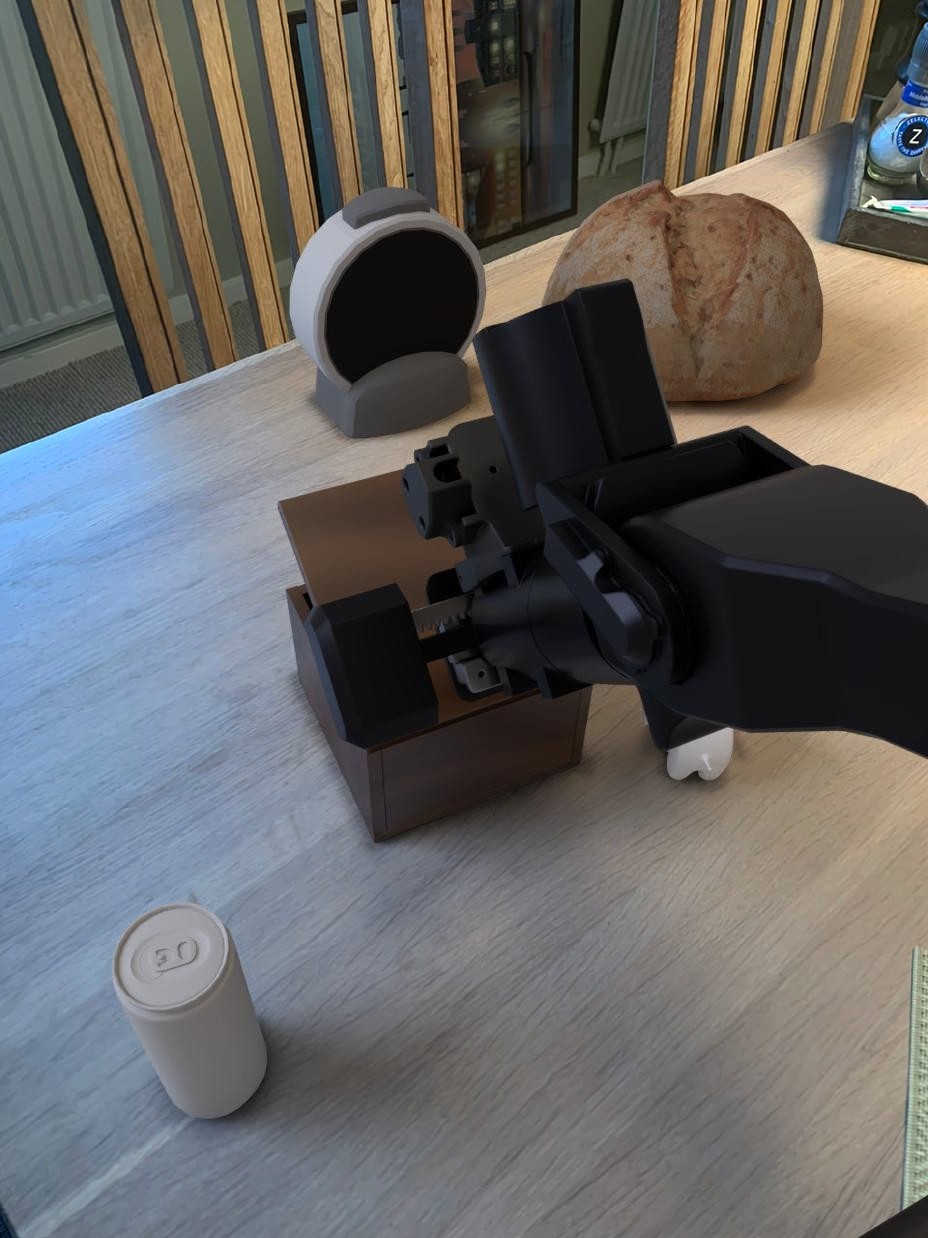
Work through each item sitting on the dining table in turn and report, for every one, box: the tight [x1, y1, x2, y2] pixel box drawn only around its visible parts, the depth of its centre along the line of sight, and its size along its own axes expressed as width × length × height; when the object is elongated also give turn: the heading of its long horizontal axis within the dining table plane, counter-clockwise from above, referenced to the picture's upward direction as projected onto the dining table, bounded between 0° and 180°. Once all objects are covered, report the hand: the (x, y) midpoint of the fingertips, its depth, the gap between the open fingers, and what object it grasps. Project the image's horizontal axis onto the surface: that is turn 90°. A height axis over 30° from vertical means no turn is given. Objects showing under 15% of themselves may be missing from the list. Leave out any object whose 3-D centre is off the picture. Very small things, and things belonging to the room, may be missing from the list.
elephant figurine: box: [641, 707, 734, 781], centre depth 60 cm, size 7×8×6 cm
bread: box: [540, 179, 824, 402], centre depth 91 cm, size 26×23×15 cm
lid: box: [277, 467, 540, 750], centre depth 54 cm, size 14×14×1 cm
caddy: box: [285, 583, 594, 844], centre depth 60 cm, size 14×14×8 cm
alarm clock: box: [289, 186, 487, 439], centre depth 83 cm, size 16×10×18 cm, turn 121°
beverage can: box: [111, 901, 268, 1120], centre depth 44 cm, size 5×5×12 cm
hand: (466, 624), depth 52 cm, fingers closed
